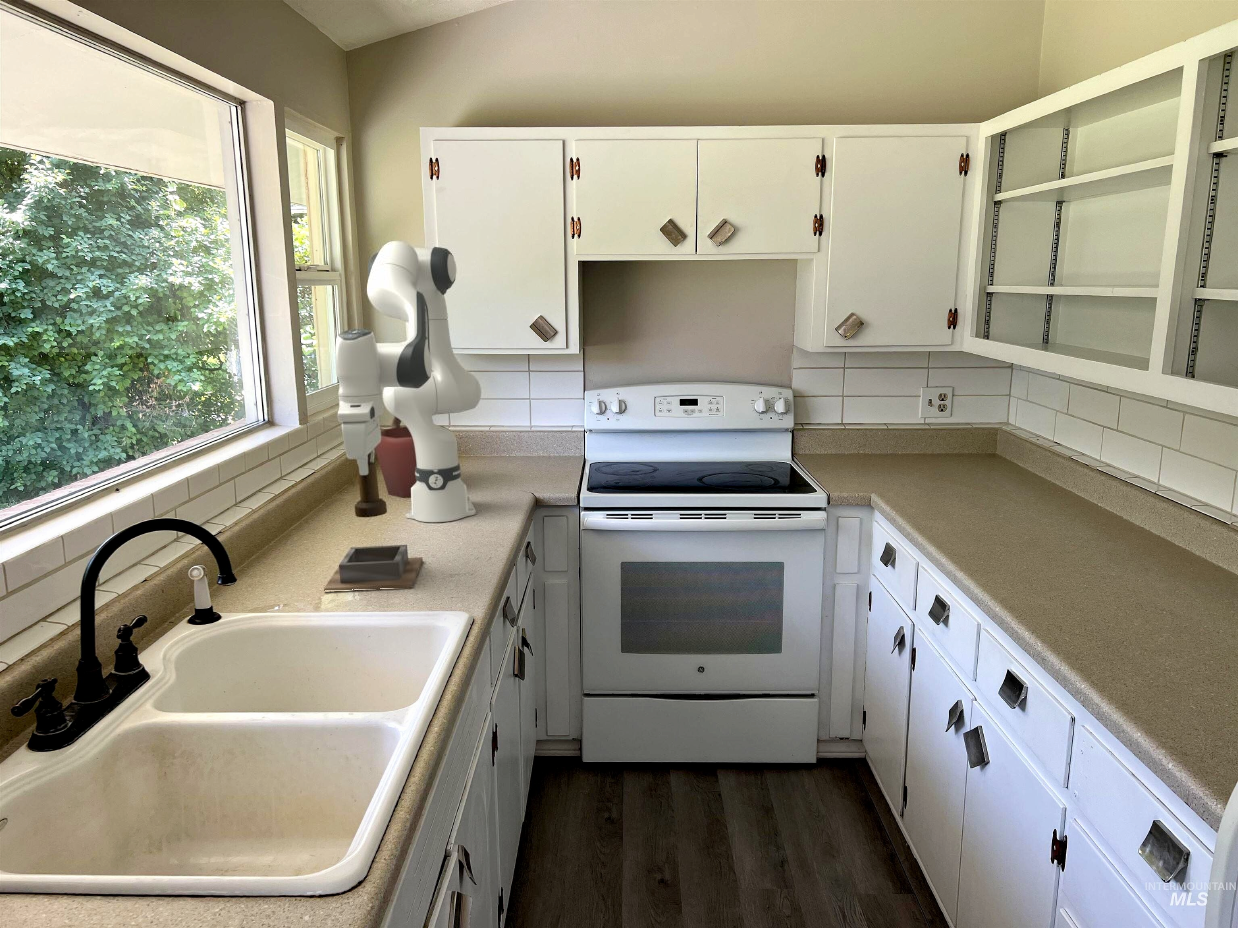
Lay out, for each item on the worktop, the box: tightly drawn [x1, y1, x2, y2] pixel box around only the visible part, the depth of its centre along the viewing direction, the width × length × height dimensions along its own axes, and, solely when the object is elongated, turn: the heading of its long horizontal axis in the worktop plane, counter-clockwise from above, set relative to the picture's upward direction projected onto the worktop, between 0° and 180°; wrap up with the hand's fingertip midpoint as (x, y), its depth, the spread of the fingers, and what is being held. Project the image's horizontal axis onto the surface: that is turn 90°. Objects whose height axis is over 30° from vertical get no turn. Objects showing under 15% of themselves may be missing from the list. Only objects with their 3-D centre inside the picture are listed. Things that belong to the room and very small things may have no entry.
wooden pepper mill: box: [354, 452, 388, 518], centre depth 188 cm, size 7×6×18 cm
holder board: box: [323, 544, 424, 592], centre depth 192 cm, size 18×18×5 cm
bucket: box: [374, 415, 452, 499], centre depth 266 cm, size 24×22×25 cm
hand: (367, 471), depth 188 cm, fingers closed on wooden pepper mill, 4 cm apart
